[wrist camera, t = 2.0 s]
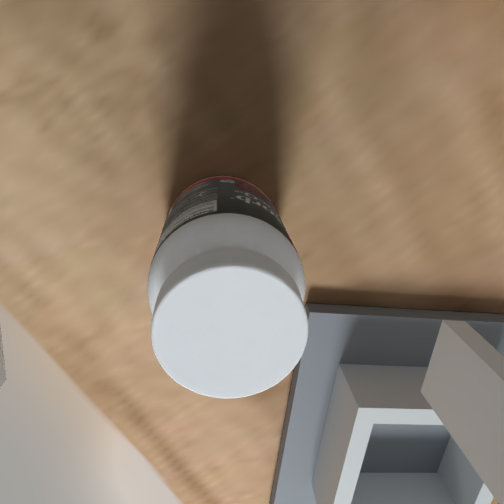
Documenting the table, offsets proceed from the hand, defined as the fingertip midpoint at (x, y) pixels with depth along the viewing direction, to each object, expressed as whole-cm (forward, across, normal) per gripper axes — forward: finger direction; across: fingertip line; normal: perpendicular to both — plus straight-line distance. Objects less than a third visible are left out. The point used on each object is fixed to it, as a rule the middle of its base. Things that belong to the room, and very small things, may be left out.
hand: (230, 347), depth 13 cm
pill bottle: (+10, 0, +1) cm, 10 cm away
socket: (+10, +12, -11) cm, 19 cm away
